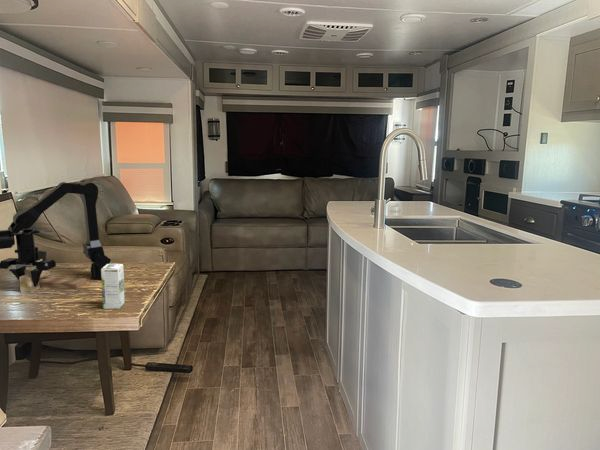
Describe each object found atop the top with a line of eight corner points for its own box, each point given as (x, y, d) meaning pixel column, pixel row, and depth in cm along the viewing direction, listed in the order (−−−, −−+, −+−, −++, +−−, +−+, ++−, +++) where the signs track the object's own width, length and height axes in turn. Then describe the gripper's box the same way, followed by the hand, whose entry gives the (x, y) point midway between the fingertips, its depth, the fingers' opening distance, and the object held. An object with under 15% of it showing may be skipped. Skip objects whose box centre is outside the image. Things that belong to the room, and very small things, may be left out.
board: (86, 283, 178) (85, 278, 178) (76, 288, 172) (76, 283, 171) (38, 281, 180) (38, 276, 179) (27, 286, 173) (27, 281, 173)
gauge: (53, 281, 180) (52, 267, 179) (30, 293, 166) (29, 277, 165) (44, 281, 180) (42, 267, 179) (20, 292, 167) (18, 277, 165)
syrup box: (108, 303, 157) (105, 263, 154) (125, 303, 158) (123, 263, 155) (102, 309, 152) (99, 268, 149) (120, 309, 152) (118, 268, 149)
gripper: (62, 241, 173) (66, 280, 176) (17, 240, 175) (21, 278, 177) (44, 248, 162) (48, 289, 165) (-4, 247, 164) (0, 287, 167)
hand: (30, 286), depth 169 cm, fingers open, 4 cm apart
